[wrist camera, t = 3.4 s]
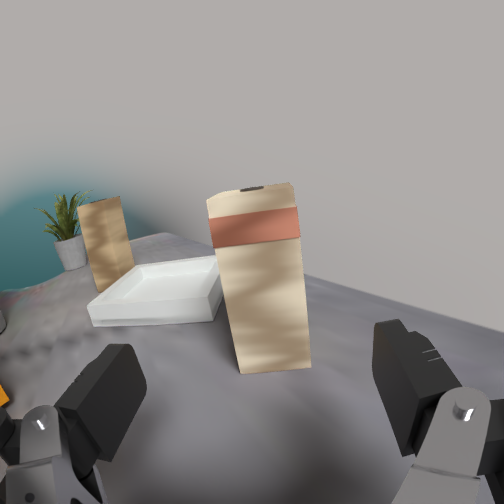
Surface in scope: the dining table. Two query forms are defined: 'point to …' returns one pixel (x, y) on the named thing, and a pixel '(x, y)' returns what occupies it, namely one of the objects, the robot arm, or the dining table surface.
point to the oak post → (106, 241)
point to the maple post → (262, 276)
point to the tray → (161, 294)
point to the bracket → (3, 396)
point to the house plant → (68, 235)
